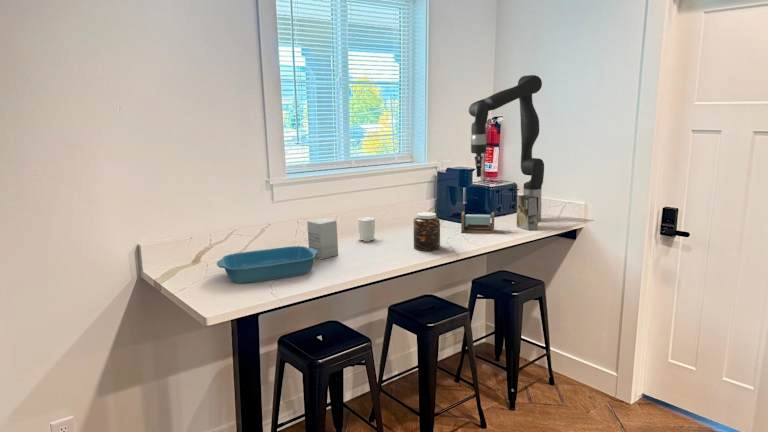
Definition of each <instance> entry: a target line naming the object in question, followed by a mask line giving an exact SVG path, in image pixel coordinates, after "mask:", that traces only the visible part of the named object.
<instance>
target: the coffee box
mask: <svg viewBox="0 0 768 432" xmlns="http://www.w3.org/2000/svg"><path fill="white" fill-rule="evenodd" d="M538 222H539V221H538V197H534V196H529V195H517V197H516V228H519V229H522V230H525V231H526V230H527V231H533V230H538V227H539V226H538V224H539V223H538Z"/></svg>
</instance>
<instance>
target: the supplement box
mask: <svg viewBox="0 0 768 432" xmlns="http://www.w3.org/2000/svg"><path fill="white" fill-rule="evenodd" d="M306 222H307V224H306V225H307V236H308V237H307V239H308V241H307V242H308V248H313V249H315V250H317V254H316V255H315V257H316V259H319V258H320V259H319V260H324V258H325V259H327V258H328V257H329V258H332V257H331V256H333V257H336V256H338V255H339V245H338V244H339V243H338V240H339V239H338V227H337V226H338V223H337V220H335V219H330V218H325V217H323V218H317V219H313V220H307V221H306ZM329 258H328V259H329Z"/></svg>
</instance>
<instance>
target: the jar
mask: <svg viewBox="0 0 768 432" xmlns="http://www.w3.org/2000/svg"><path fill="white" fill-rule="evenodd" d="M440 248H441V221H440V218H438V216H437V213H435V212H431V211H429V212H428V211H423V212H418V213H417V215H416V217H415V218H414V219H413V249H414V250H417V251H420V252H433V251H438V250H439V249H440Z"/></svg>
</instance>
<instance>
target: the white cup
mask: <svg viewBox="0 0 768 432" xmlns="http://www.w3.org/2000/svg"><path fill="white" fill-rule="evenodd" d="M357 222H358V234H359V241H361V240H364V241H363V242H370V241H369V240H373V241H374V240H375V235H376V234H375V232H376V231H375V230H376V218H375V217H371V216H370V217H366V216H365V217H364V216H363V217H358V218H357Z"/></svg>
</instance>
